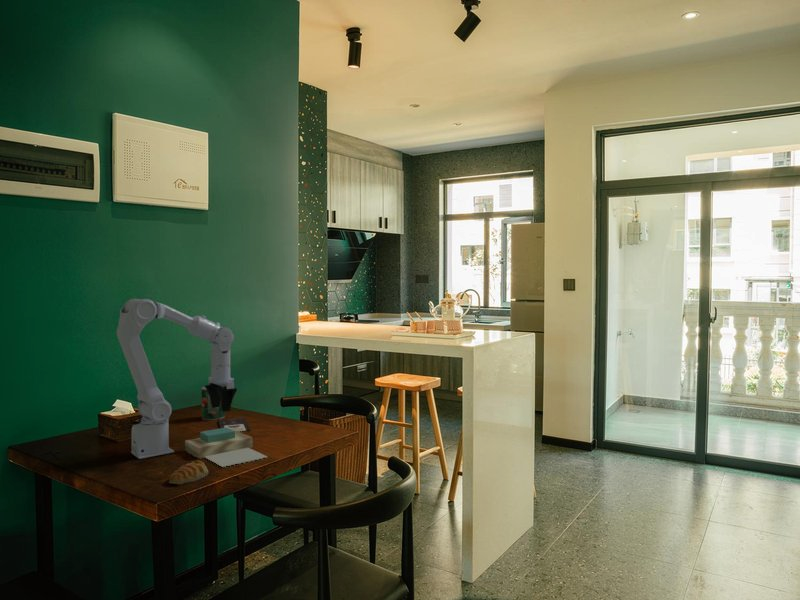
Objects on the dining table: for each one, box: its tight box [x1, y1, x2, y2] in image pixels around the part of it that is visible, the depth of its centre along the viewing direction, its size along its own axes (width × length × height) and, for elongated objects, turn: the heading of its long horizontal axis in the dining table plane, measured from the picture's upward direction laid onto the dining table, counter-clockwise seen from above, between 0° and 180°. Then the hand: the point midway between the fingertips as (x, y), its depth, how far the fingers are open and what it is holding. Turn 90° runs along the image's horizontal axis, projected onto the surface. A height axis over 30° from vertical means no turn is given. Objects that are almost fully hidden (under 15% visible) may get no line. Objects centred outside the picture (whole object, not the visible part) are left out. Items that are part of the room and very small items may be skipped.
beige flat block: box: [184, 431, 254, 460], centre depth 163 cm, size 16×10×3 cm, turn 131°
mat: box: [203, 448, 269, 468], centre depth 155 cm, size 13×12×1 cm
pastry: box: [168, 459, 209, 485], centre depth 138 cm, size 9×7×4 cm
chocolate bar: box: [217, 417, 251, 433], centre depth 191 cm, size 9×1×18 cm
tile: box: [199, 427, 235, 443], centre depth 164 cm, size 8×6×2 cm
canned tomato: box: [201, 386, 226, 421], centre depth 203 cm, size 8×8×11 cm
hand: (220, 409), depth 174 cm, fingers open, 7 cm apart
